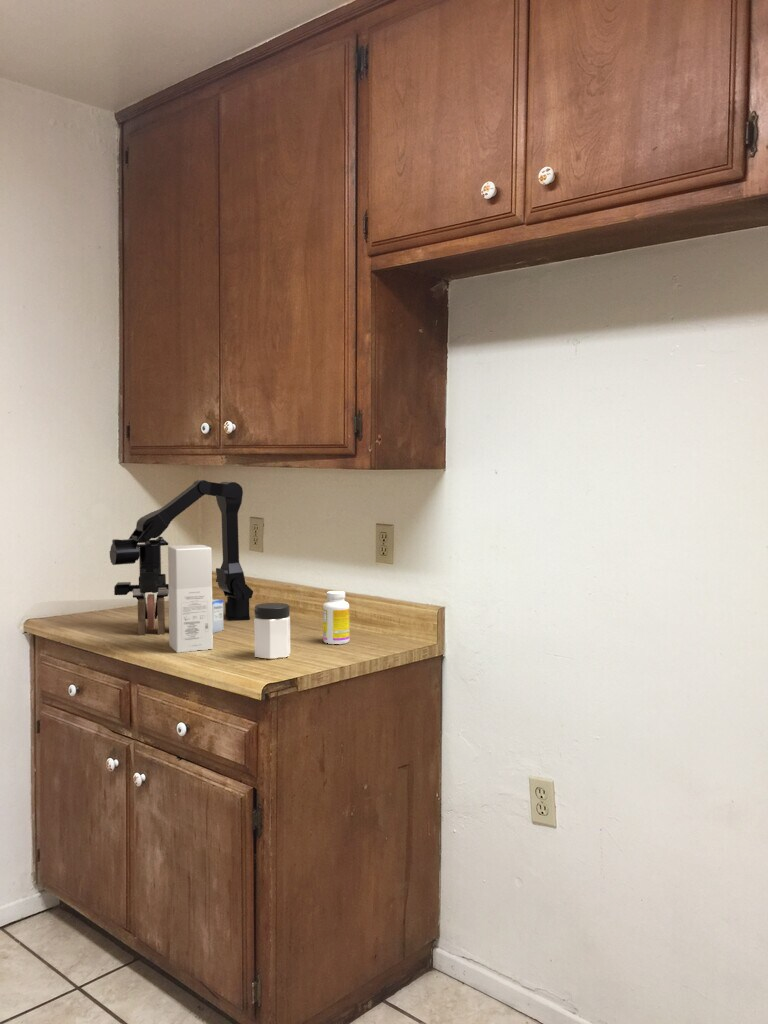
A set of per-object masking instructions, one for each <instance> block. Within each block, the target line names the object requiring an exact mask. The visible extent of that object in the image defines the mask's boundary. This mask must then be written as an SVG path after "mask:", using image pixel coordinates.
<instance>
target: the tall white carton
mask: <svg viewBox="0 0 768 1024" xmlns="http://www.w3.org/2000/svg"><path fill="white" fill-rule="evenodd" d="M212 558H213V557H212V547H210V546H208V545H204V544H189V545H187V544H186V545H185V544H184V545H167V561H168V562H167V564H168V565H167V567H168V570H167V571H168V583H167V584H168V587H169V594H168V631H169V632H168V633H169V634H168V636H169V637H168V638H169V639H168V640H169V641H168V642H169V645H168V646H169V647H170V648H171V649H172V650H174V651H175V653H176V654H179V653H181V652H182V653H190V652H189V651H192V652H198V651H197V650H203V651H209V650H208V649H212V650H213V648H214V638H213V636H214V633H213V617H212V599H213V578H212V577H213V573H212V572H213V571H212V570H213V569H212V568H213V567H212V564H213V563H212V562H213V559H212Z"/></svg>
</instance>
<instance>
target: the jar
mask: <svg viewBox="0 0 768 1024" xmlns="http://www.w3.org/2000/svg"><path fill="white" fill-rule="evenodd" d="M290 608H291V607H290V604H288V603H282V602H266V603H265V602H264V603H259V604H256V605H255V606H254V619H253V621H254V622H253V623H254V631H253V633H254V658H255V657H264V658H278V657H287V656H289V657H290V655H291V615H290V613H291V612H290ZM289 654H290V655H289Z"/></svg>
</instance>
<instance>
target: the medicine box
mask: <svg viewBox="0 0 768 1024" xmlns="http://www.w3.org/2000/svg"><path fill="white" fill-rule="evenodd" d="M212 617H213V634H216V633H215V632H217V633H219V632H218V631H221V632H223V631H224V600H223V599H219V598H217V599H216V598H212ZM222 630H223V631H222Z"/></svg>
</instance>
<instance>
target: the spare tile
mask: <svg viewBox="0 0 768 1024" xmlns="http://www.w3.org/2000/svg"><path fill="white" fill-rule="evenodd" d="M146 605H147V616H148V619H147V631H154V630H155V628H154V627H155V626H156V623H155V622H156V621H155V620H156V619H155V593H152V594H151V593H150V594H148V593H147V598H146ZM153 629H154V630H153Z"/></svg>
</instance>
